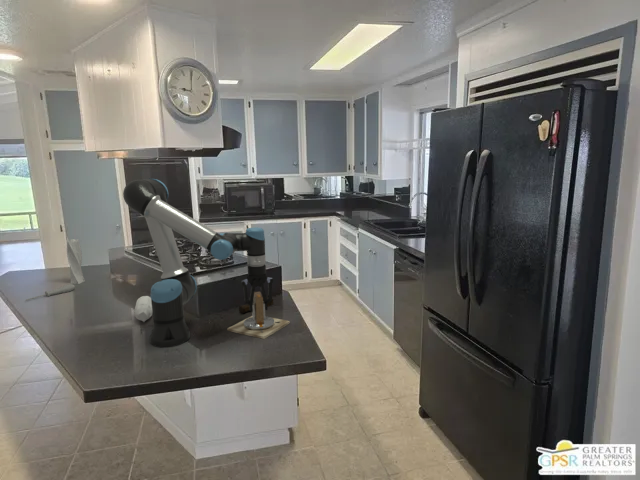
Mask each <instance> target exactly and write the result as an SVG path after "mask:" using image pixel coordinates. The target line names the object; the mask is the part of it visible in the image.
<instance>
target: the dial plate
mask: <svg viewBox="0 0 640 480" xmlns="http://www.w3.org/2000/svg"><path fill="white" fill-rule="evenodd" d="M251 317H252V315H251V316H249V317H247V318H245V319H243V320H241V321H239V322H237V323H236V324H234V325H232V326H229V327H227V329H226V331H228V332H231V333H236V334H240V335H243V336H244V335H245V336H249V337H253V338H257V339H262V340H265V339H267V338H268V337H270V336H271V335H273V334H275V333H277V332H278V331H280V330H281V329H283V328H285V327H286V326H288V325H289V324H290V323H291V322H290V320H286V319H280V318H277V317H272V318H273V319H274V325H273V326H272V327H270V328H267V329H262V330H251V329H247V328H245V327H244V321H245V320H246V319H248V318H251Z"/></svg>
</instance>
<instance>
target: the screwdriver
mask: <svg viewBox="0 0 640 480" xmlns="http://www.w3.org/2000/svg"><path fill="white" fill-rule="evenodd" d="M75 288H76V286H75V285H74V284H71V283H70V284H64V285H63V286H60V287H58V288H55V289H52V290H47V291H45V292H44V293H43V294H42V295H38V296H35V297H34V296H33V297H30V298H27V299H25V301H29V300H33V299H36V298H40V297H43V296H45V297H47V298H48V297H50V296H53V295H55V296H56V295H59V294H66V293H70V292H72V291H74V290H75Z"/></svg>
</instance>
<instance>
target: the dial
mask: <svg viewBox="0 0 640 480" xmlns="http://www.w3.org/2000/svg"><path fill="white" fill-rule="evenodd" d="M253 303H254V308H255V320H253V318H252V317H251V316H250V317H251V318H249V317H247V318H248V319H247V318H245V319H246V320H245V319H244V320H245V321H244V327H245V328H247V329H251V330H262V329H267V328H270V327H272V326H273V325H274V319H273V318H274V317H270V316H266V315H265V318H264V313H263V295H262V291H254V297H253Z"/></svg>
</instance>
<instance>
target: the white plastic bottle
mask: <svg viewBox="0 0 640 480" xmlns="http://www.w3.org/2000/svg"><path fill="white" fill-rule="evenodd" d="M133 313H134V316H135V318H136V319H137V320H138V321H141V322H143V323H146V321H147V320H150V318H151V317H153V313H152V303H151V296H150V295H143V296H140V297H138V299H137V300H136V302H135V307H134V310H133Z"/></svg>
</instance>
